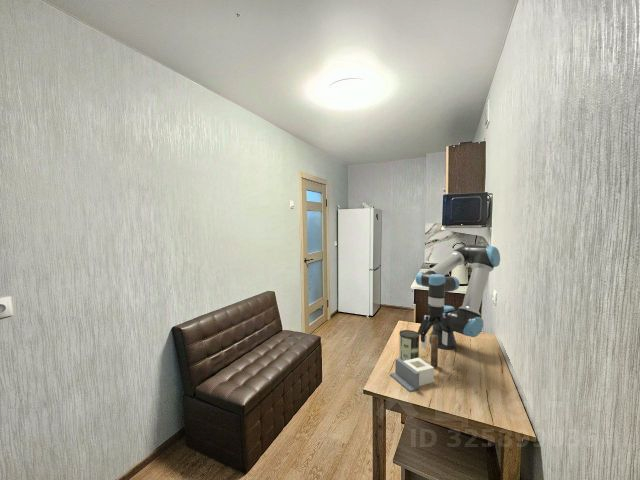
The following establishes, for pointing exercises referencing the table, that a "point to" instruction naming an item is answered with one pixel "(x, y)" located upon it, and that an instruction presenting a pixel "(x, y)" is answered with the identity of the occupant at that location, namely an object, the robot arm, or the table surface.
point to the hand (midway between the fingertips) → (434, 346)
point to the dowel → (434, 351)
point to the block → (422, 370)
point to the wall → (406, 376)
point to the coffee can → (408, 345)
